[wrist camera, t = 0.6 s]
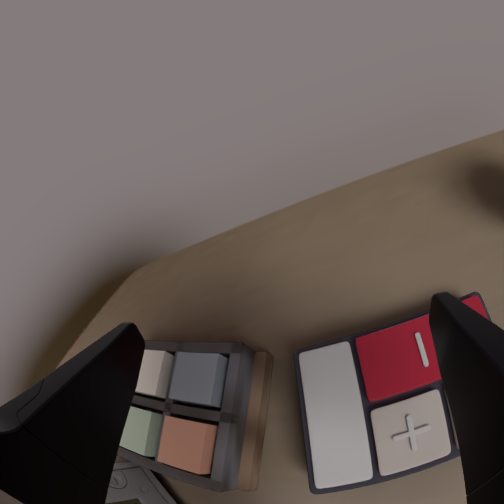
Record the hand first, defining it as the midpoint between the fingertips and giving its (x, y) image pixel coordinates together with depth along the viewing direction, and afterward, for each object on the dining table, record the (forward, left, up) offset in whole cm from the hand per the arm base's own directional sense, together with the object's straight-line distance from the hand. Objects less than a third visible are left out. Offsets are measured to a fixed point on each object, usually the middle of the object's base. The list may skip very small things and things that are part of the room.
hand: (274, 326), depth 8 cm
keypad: (-2, +14, -16) cm, 22 cm away
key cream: (+1, +17, -13) cm, 21 cm away
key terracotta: (-5, +11, -13) cm, 18 cm away
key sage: (-5, +17, -13) cm, 22 cm away
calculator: (0, -4, -17) cm, 17 cm away
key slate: (+1, +11, -13) cm, 18 cm away
